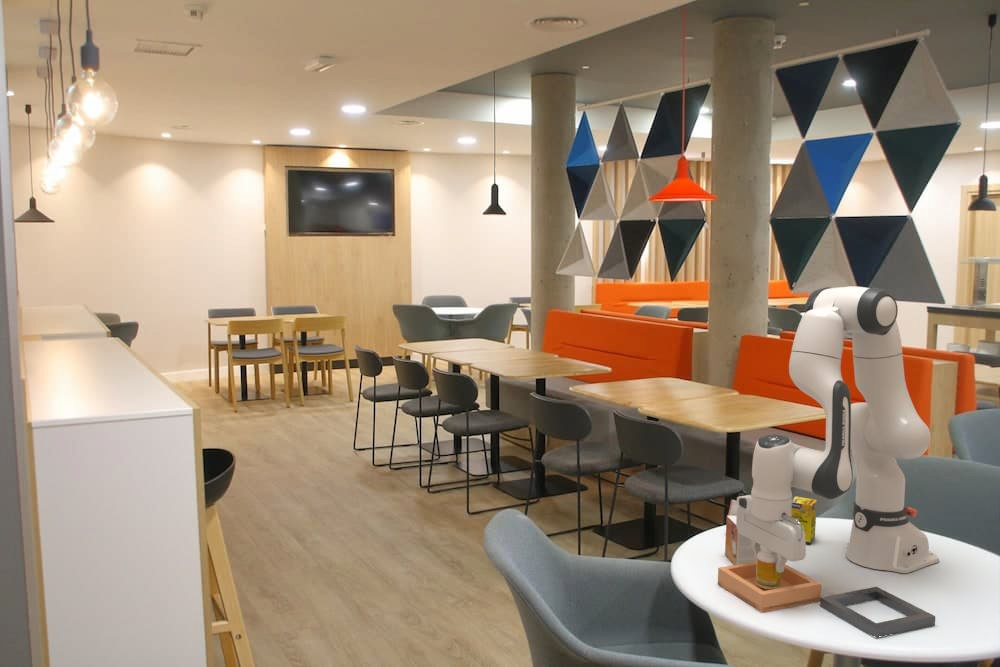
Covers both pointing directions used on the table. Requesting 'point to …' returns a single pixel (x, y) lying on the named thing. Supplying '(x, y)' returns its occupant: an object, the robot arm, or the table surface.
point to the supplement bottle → (767, 569)
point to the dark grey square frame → (915, 615)
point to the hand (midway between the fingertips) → (768, 565)
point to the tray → (789, 594)
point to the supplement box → (805, 516)
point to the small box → (737, 544)
